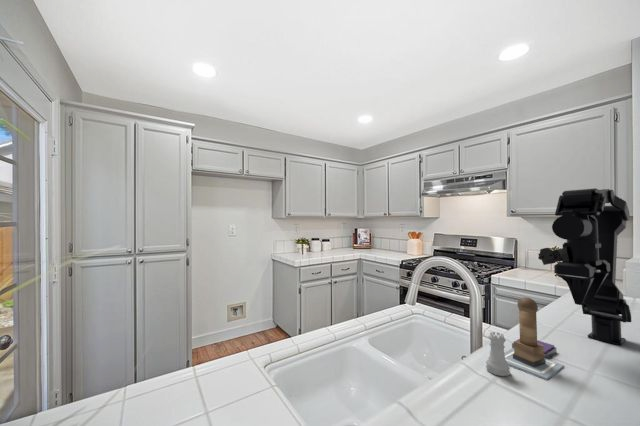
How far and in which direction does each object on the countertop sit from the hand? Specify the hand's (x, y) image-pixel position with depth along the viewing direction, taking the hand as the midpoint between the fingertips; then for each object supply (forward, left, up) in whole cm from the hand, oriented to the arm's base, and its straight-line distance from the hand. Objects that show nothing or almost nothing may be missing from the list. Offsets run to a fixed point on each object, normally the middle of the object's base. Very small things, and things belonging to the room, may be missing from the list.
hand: (584, 301), depth 67 cm
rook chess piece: (+27, -8, -13) cm, 31 cm away
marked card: (+17, -6, -13) cm, 22 cm away
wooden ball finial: (+17, -6, -13) cm, 22 cm away
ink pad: (+8, -8, -13) cm, 17 cm away
